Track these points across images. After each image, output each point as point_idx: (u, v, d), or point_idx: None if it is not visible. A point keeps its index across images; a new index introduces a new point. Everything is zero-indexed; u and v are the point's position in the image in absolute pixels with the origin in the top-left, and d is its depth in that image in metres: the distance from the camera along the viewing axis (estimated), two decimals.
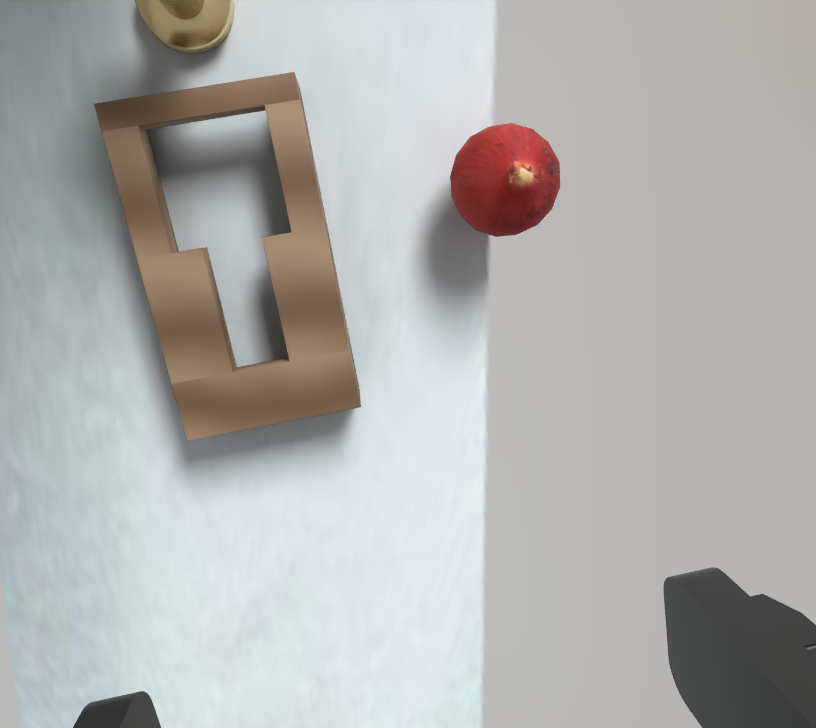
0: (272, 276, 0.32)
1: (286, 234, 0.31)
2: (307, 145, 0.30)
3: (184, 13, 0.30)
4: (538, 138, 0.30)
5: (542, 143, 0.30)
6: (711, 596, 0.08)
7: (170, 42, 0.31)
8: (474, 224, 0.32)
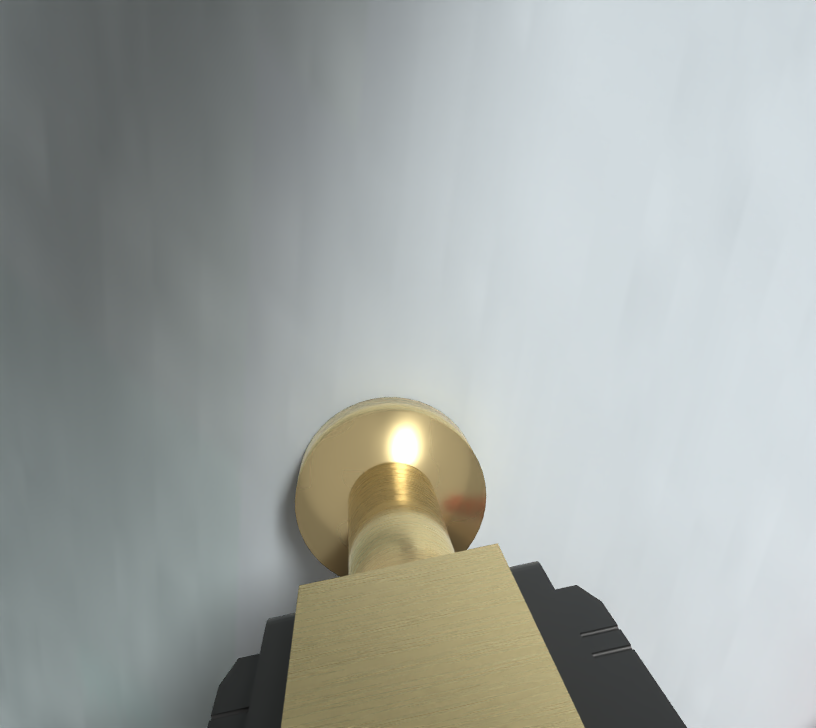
0: None
1: None
2: None
3: None
4: None
5: None
6: (521, 587, 0.09)
7: None
8: None
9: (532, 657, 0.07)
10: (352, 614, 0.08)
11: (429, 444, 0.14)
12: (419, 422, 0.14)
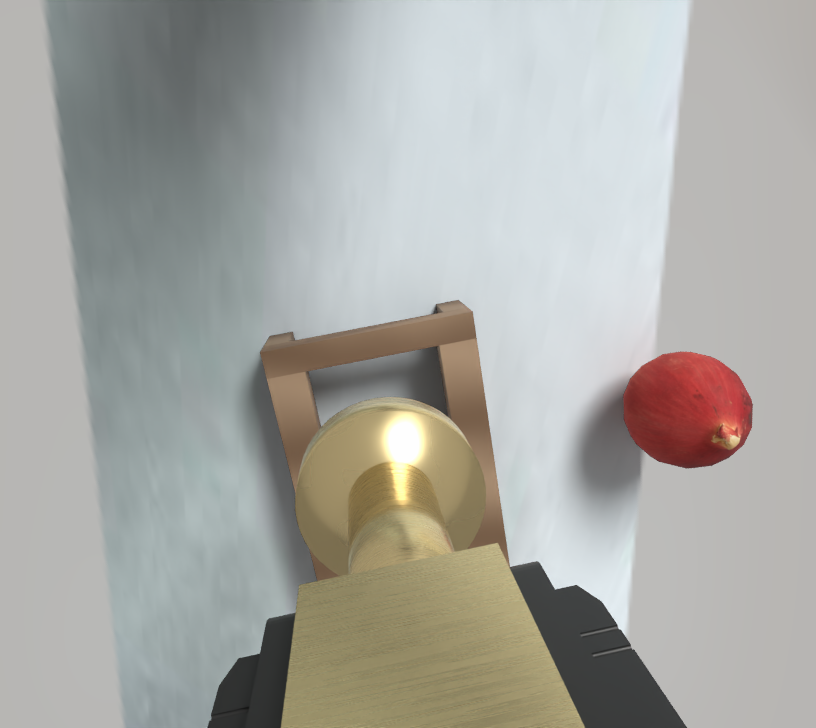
0: None
1: None
2: (481, 383, 0.28)
3: None
4: (734, 381, 0.28)
5: (739, 387, 0.28)
6: (521, 586, 0.09)
7: None
8: (652, 455, 0.30)
9: (532, 656, 0.07)
10: (352, 613, 0.08)
11: (429, 444, 0.14)
12: (419, 422, 0.14)
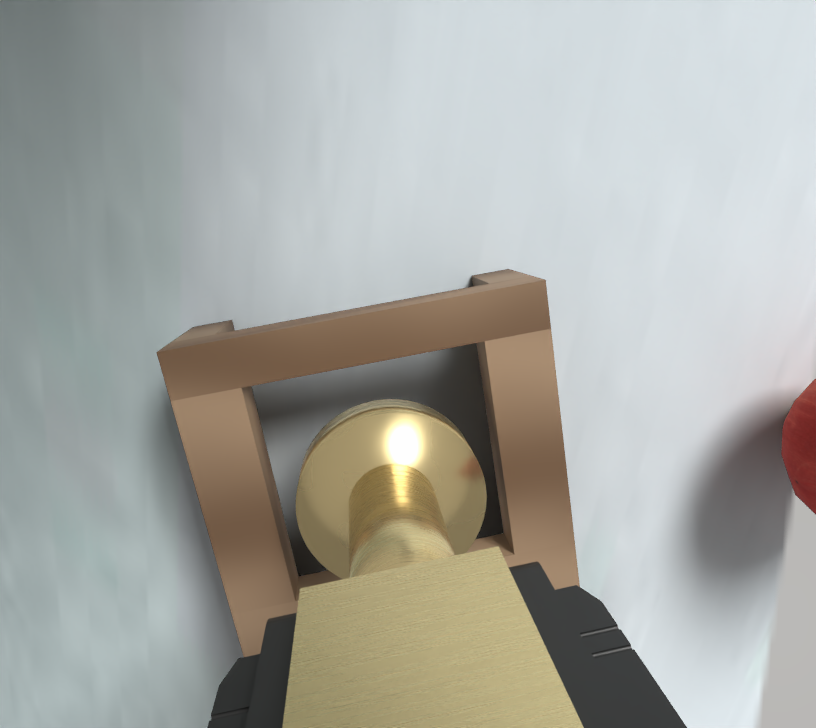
0: None
1: (504, 558, 0.17)
2: (557, 408, 0.16)
3: None
4: None
5: None
6: (521, 587, 0.09)
7: None
8: None
9: (533, 661, 0.07)
10: (353, 617, 0.08)
11: (429, 446, 0.14)
12: (420, 424, 0.14)
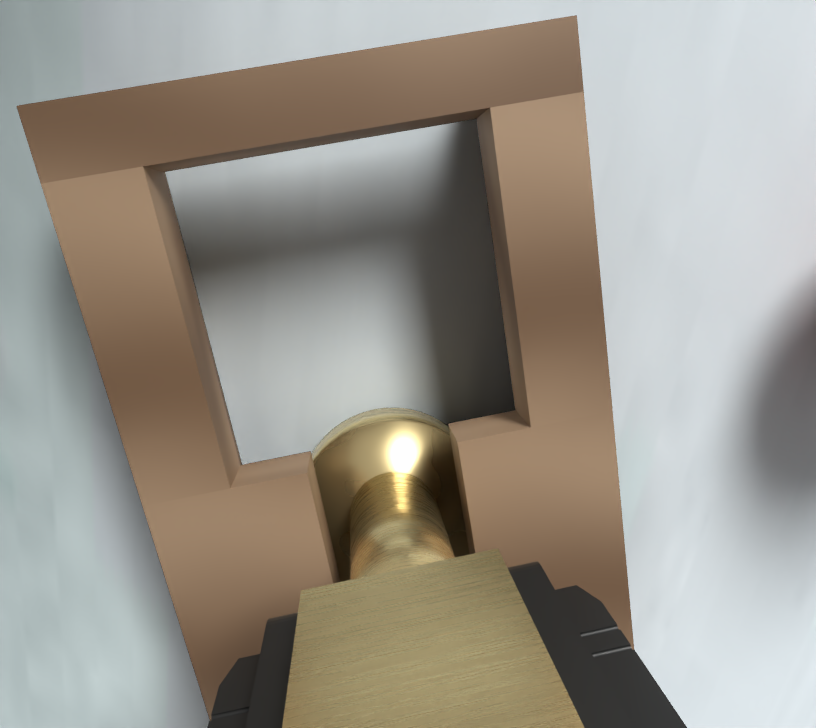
0: (476, 529, 0.13)
1: (517, 432, 0.12)
2: (591, 213, 0.12)
3: None
4: None
5: None
6: (521, 586, 0.09)
7: None
8: None
9: (531, 657, 0.07)
10: (353, 617, 0.08)
11: (430, 453, 0.15)
12: (421, 432, 0.14)
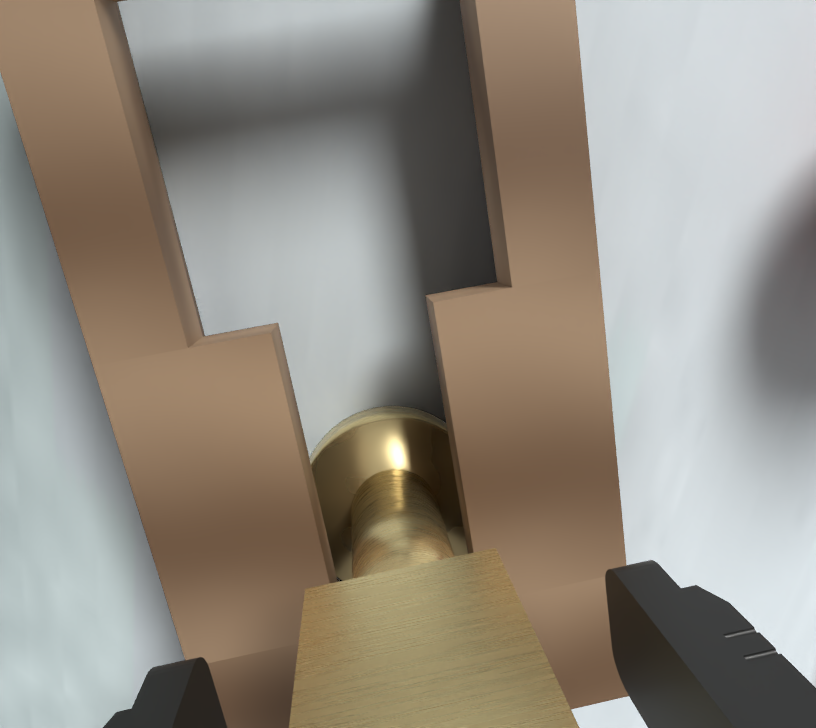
0: (454, 402, 0.12)
1: (497, 293, 0.12)
2: (575, 44, 0.11)
3: None
4: None
5: None
6: (644, 587, 0.09)
7: None
8: None
9: (527, 655, 0.07)
10: (356, 616, 0.09)
11: (430, 451, 0.15)
12: (420, 430, 0.15)
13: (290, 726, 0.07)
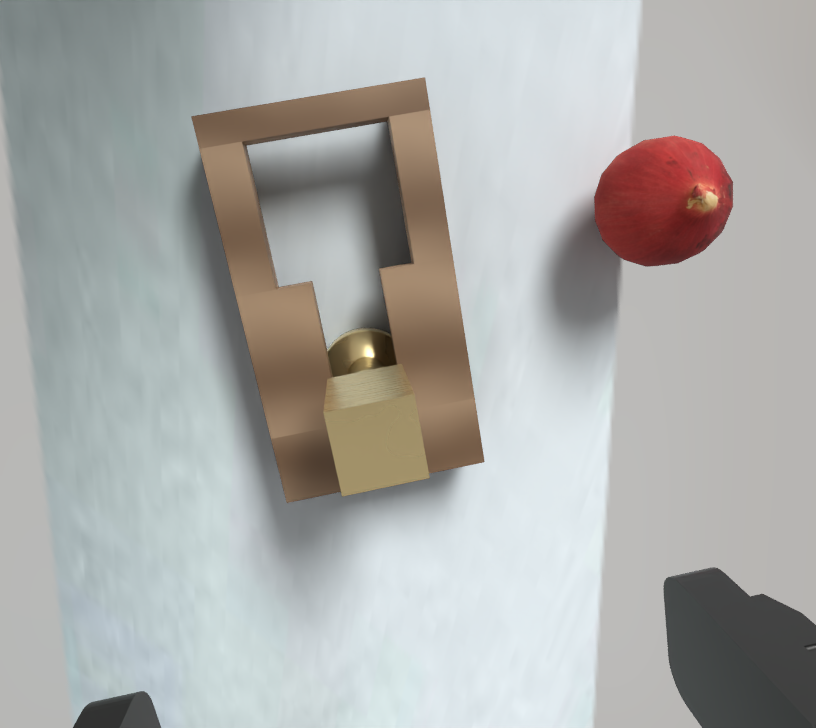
0: (390, 315, 0.27)
1: (408, 266, 0.27)
2: (436, 163, 0.26)
3: None
4: (712, 154, 0.25)
5: (717, 160, 0.25)
6: (711, 596, 0.08)
7: None
8: (625, 253, 0.27)
9: (402, 379, 0.23)
10: (346, 380, 0.24)
11: (384, 347, 0.30)
12: (379, 336, 0.30)
13: (325, 395, 0.22)
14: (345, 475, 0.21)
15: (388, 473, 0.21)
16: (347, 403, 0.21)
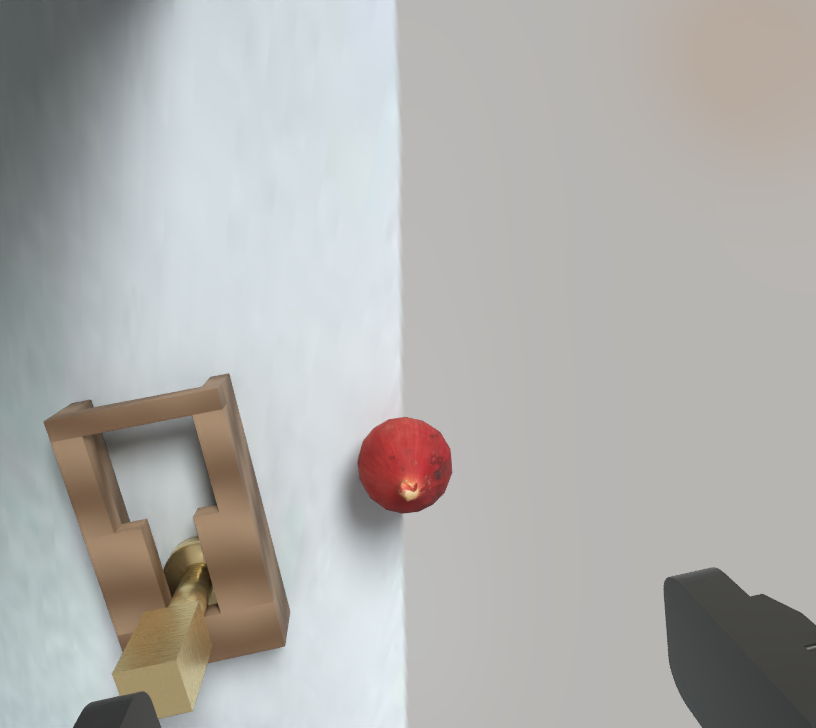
0: (203, 547, 0.37)
1: (214, 514, 0.36)
2: (230, 444, 0.35)
3: None
4: (428, 444, 0.35)
5: (431, 449, 0.34)
6: (711, 596, 0.08)
7: None
8: None
9: (184, 629, 0.32)
10: (153, 620, 0.33)
11: None
12: None
13: (127, 644, 0.31)
14: None
15: (162, 709, 0.30)
16: (132, 663, 0.30)
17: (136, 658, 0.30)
